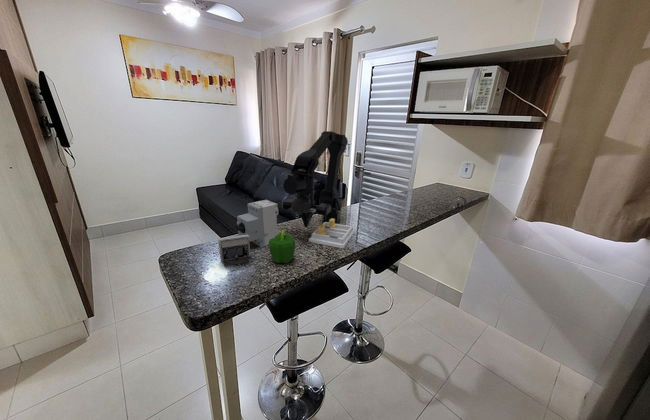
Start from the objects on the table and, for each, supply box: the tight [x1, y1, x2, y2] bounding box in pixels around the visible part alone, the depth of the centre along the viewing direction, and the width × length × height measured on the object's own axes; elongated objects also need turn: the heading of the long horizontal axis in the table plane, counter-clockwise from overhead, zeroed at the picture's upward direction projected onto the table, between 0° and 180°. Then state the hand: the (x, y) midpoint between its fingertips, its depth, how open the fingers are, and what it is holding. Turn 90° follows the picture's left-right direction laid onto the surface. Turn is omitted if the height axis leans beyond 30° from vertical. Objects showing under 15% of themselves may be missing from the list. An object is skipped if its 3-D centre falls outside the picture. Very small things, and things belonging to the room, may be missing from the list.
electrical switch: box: [217, 235, 251, 266], centre depth 80 cm, size 9×5×9 cm, turn 113°
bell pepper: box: [268, 229, 296, 264], centre depth 82 cm, size 8×8×10 cm
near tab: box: [317, 223, 326, 235], centre depth 98 cm, size 3×3×4 cm
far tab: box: [328, 218, 336, 228], centre depth 105 cm, size 3×3×4 cm
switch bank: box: [308, 222, 356, 249], centre depth 101 cm, size 14×16×3 cm
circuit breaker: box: [235, 199, 280, 248], centre depth 92 cm, size 8×14×15 cm, turn 135°
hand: (306, 227), depth 100 cm, fingers closed
